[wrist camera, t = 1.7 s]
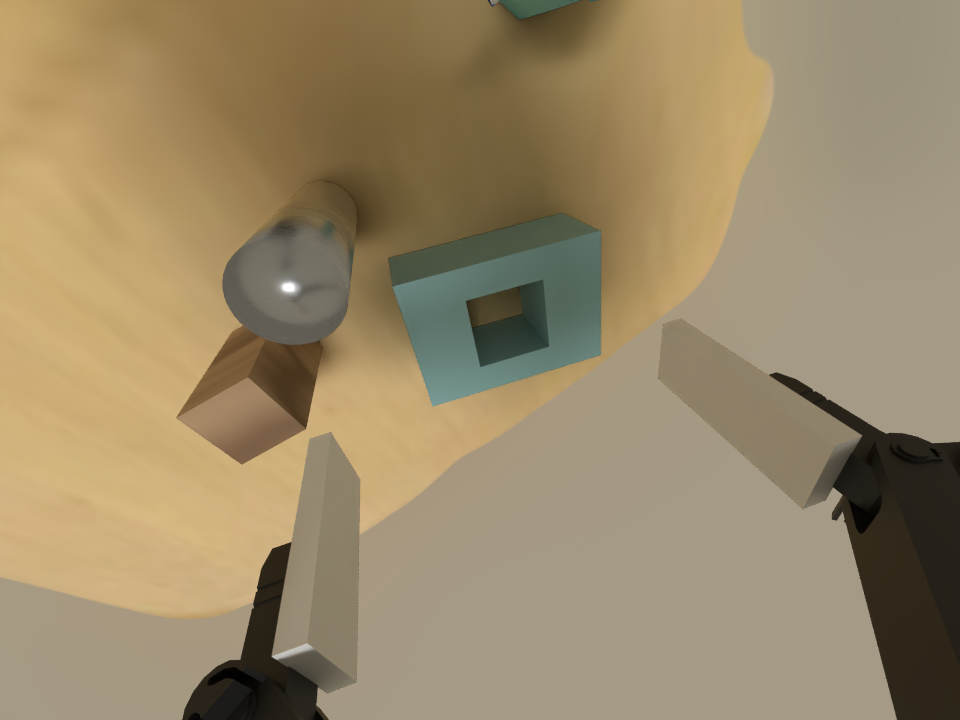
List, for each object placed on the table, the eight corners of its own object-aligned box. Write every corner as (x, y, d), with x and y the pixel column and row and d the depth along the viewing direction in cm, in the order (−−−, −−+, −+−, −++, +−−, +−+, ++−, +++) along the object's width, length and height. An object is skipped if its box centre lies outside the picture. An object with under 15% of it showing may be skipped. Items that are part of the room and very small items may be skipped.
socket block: (388, 258, 28) (392, 286, 23) (562, 212, 30) (600, 230, 25) (423, 365, 34) (432, 406, 29) (568, 322, 35) (600, 355, 30)
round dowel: (283, 188, 24) (196, 255, 12) (344, 174, 25) (321, 224, 12) (309, 249, 27) (259, 357, 14) (365, 235, 27) (363, 328, 15)
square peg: (231, 332, 28) (176, 417, 20) (282, 302, 28) (247, 377, 20) (275, 373, 31) (241, 464, 23) (322, 346, 31) (306, 428, 22)
